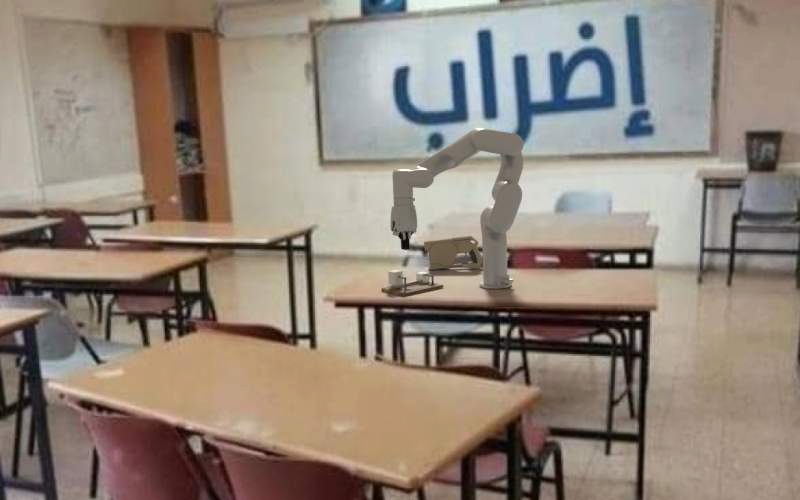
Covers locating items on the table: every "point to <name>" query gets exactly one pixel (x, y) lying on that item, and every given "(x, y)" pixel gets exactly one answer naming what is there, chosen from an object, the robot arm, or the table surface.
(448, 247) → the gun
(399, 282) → the sliding leg
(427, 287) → the hole board
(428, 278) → the beam
